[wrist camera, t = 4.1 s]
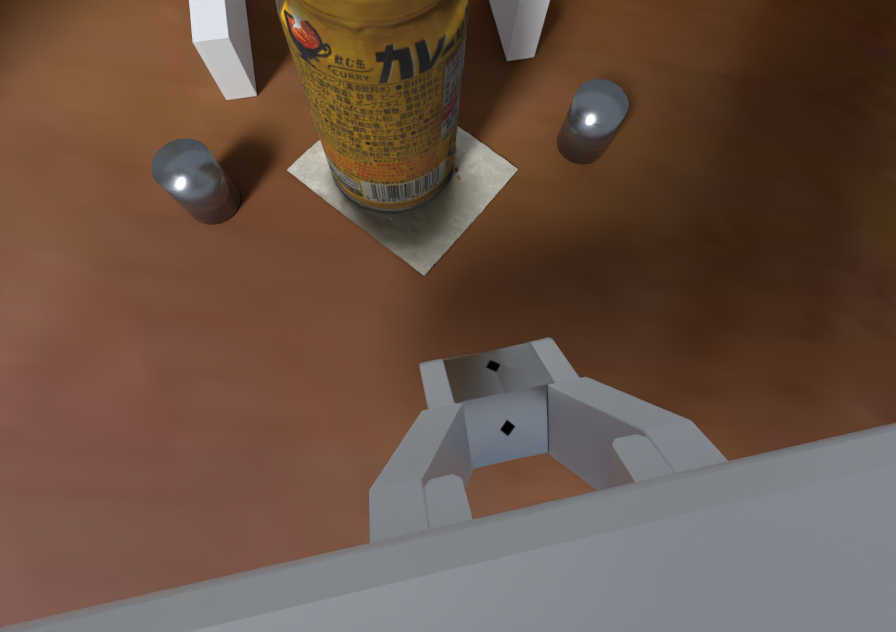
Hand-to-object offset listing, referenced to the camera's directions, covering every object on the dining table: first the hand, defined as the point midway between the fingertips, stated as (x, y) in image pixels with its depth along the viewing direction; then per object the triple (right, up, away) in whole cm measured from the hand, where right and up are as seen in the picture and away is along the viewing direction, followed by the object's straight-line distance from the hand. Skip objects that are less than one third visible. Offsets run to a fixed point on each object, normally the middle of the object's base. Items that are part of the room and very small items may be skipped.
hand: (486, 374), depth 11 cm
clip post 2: (+6, +10, +13) cm, 17 cm away
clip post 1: (-12, +7, +11) cm, 18 cm away
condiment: (-3, +8, +13) cm, 15 cm away
